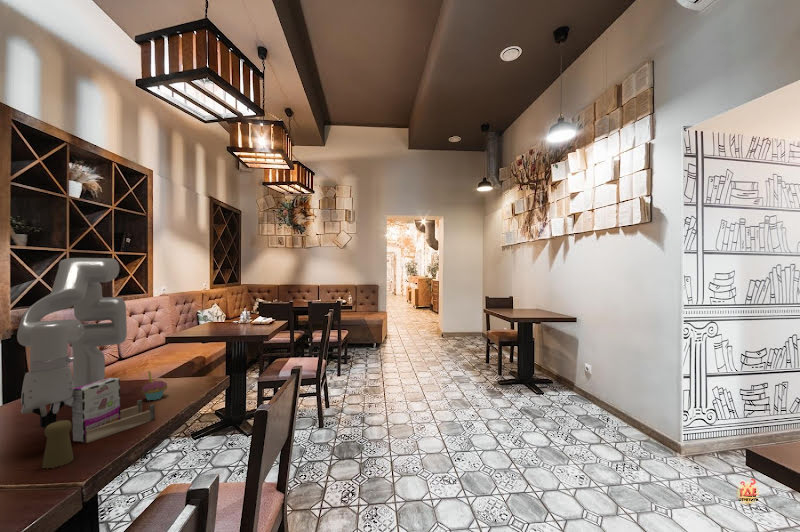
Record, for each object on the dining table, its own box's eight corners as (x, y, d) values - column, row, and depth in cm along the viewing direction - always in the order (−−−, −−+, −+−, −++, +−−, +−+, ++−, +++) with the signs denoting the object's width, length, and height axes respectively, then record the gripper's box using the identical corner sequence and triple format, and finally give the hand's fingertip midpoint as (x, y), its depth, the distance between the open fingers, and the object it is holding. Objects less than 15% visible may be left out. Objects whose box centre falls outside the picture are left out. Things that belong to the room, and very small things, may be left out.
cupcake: (146, 404, 130) (146, 373, 130) (137, 400, 134) (137, 370, 135) (171, 397, 137) (171, 368, 137) (161, 393, 142) (161, 365, 142)
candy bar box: (109, 425, 112) (109, 377, 112) (121, 426, 111) (121, 377, 111) (70, 441, 101) (70, 388, 101) (83, 443, 100) (83, 389, 100)
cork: (56, 457, 92) (57, 418, 93) (79, 455, 93) (80, 416, 93) (34, 470, 86) (35, 428, 87) (59, 468, 87) (59, 426, 87)
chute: (74, 435, 105) (74, 419, 105) (140, 413, 121) (140, 399, 121) (87, 443, 100) (87, 426, 100) (154, 419, 116) (154, 404, 116)
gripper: (78, 358, 105) (77, 416, 104) (6, 370, 92) (5, 436, 91) (87, 360, 101) (86, 420, 101) (14, 373, 88) (13, 442, 88)
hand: (48, 427), depth 96 cm, fingers closed
